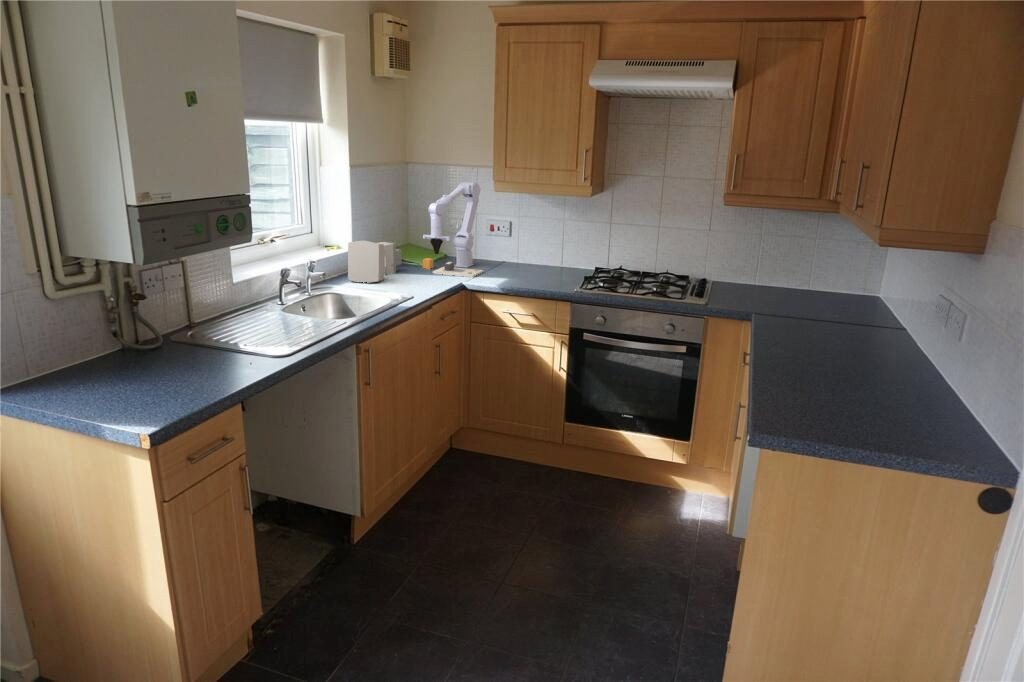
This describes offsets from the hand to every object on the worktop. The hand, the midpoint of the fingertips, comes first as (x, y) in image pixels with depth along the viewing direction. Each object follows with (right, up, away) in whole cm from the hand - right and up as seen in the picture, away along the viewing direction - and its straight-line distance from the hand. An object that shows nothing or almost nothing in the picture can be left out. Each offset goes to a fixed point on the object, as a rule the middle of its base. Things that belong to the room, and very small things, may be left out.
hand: (436, 253), depth 348 cm
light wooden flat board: (+11, -10, -1) cm, 15 cm away
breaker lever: (+6, -8, 0) cm, 10 cm away
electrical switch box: (-30, -15, -22) cm, 41 cm away
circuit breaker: (-24, -10, -4) cm, 26 cm away
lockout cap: (-5, -7, +9) cm, 12 cm away
